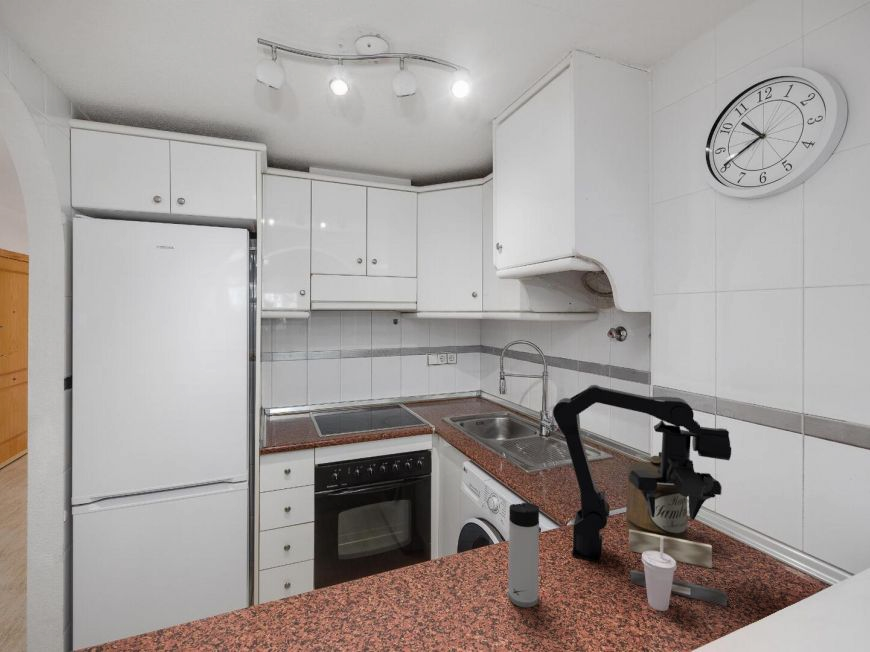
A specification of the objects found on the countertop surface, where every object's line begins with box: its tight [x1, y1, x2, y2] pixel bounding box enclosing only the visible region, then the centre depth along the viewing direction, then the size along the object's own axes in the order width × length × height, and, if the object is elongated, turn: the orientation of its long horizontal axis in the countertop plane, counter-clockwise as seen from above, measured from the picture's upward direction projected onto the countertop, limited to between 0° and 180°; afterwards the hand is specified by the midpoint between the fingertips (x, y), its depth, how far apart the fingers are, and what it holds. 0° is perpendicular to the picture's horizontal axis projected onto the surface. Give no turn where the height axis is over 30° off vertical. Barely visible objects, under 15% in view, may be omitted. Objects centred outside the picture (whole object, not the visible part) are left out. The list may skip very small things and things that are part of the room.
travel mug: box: [507, 502, 540, 608], centre depth 86 cm, size 6×7×20 cm
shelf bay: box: [628, 529, 728, 607], centre depth 95 cm, size 18×16×5 cm
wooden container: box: [625, 455, 688, 541], centre depth 113 cm, size 15×15×22 cm
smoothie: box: [641, 538, 677, 612], centre depth 85 cm, size 6×6×14 cm
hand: (672, 517), depth 96 cm, fingers open, 9 cm apart
